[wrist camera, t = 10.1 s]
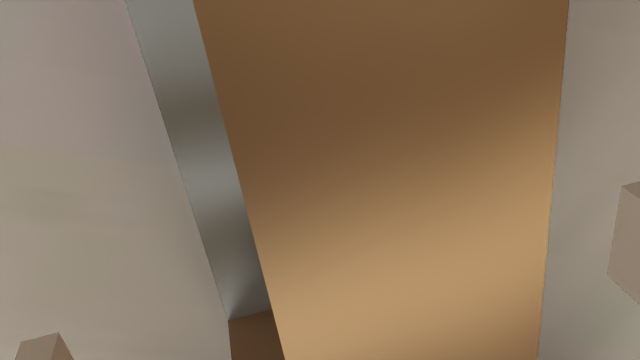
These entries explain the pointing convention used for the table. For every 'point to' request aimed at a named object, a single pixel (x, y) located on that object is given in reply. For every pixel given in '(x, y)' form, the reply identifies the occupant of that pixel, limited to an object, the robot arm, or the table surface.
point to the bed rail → (395, 168)
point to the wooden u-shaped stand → (207, 169)
